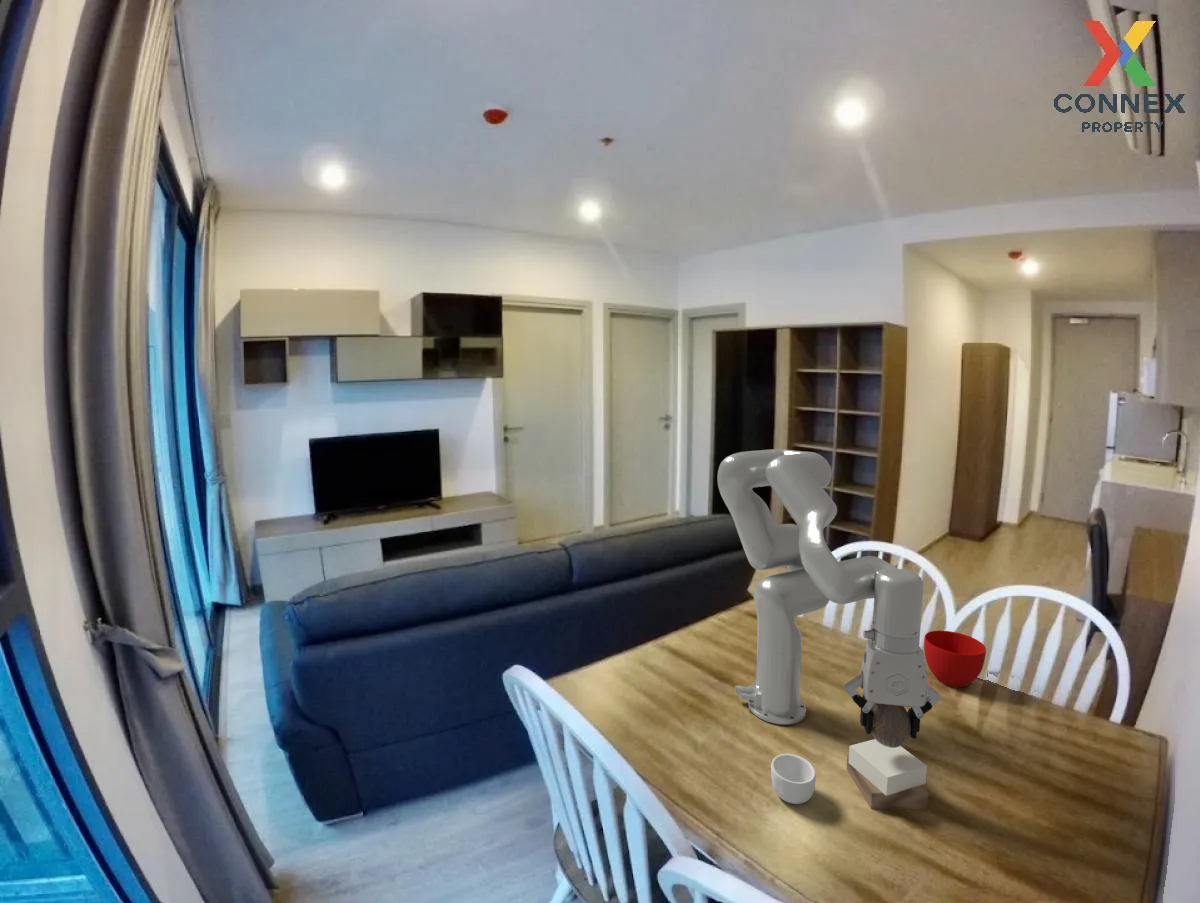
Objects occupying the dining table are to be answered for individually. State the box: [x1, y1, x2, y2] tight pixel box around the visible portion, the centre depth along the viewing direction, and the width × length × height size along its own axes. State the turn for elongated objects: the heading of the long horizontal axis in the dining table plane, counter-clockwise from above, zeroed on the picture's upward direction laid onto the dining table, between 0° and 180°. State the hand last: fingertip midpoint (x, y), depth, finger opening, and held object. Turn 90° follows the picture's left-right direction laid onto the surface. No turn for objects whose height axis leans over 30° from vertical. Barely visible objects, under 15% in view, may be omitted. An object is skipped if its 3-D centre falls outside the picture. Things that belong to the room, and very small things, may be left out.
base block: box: [846, 754, 930, 810], centre depth 106 cm, size 10×10×4 cm
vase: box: [870, 703, 911, 748], centre depth 104 cm, size 7×7×9 cm
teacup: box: [770, 753, 817, 805], centre depth 105 cm, size 10×8×5 cm
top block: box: [848, 738, 928, 796], centre depth 106 cm, size 9×9×4 cm
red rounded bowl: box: [923, 630, 987, 688], centre depth 143 cm, size 13×17×10 cm
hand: (888, 730), depth 105 cm, fingers closed on vase, 6 cm apart
